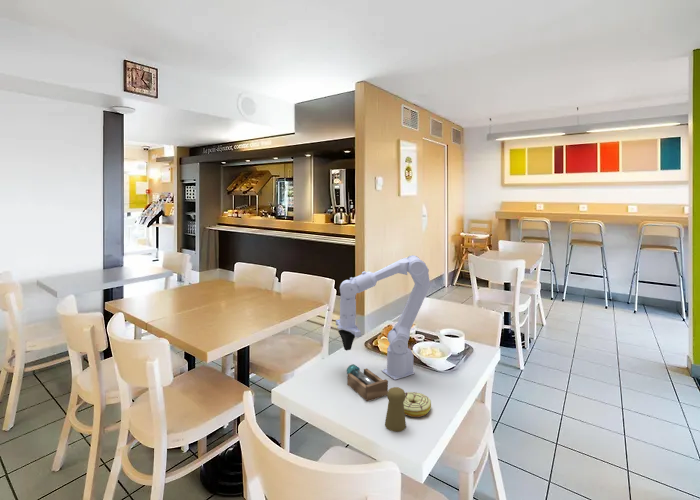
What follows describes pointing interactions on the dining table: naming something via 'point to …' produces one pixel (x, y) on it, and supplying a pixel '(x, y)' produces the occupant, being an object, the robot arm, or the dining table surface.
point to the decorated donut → (416, 404)
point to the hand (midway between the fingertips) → (347, 349)
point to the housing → (368, 386)
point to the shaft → (359, 374)
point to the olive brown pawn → (395, 410)
